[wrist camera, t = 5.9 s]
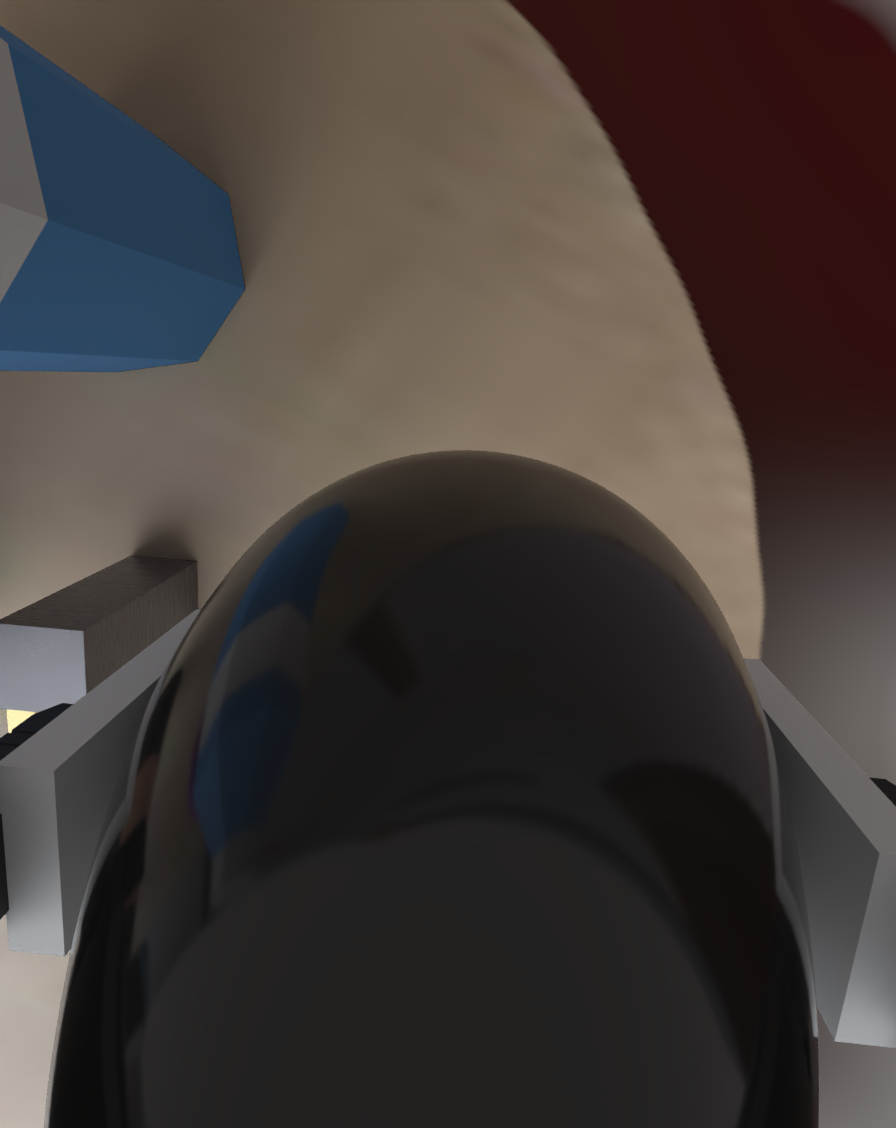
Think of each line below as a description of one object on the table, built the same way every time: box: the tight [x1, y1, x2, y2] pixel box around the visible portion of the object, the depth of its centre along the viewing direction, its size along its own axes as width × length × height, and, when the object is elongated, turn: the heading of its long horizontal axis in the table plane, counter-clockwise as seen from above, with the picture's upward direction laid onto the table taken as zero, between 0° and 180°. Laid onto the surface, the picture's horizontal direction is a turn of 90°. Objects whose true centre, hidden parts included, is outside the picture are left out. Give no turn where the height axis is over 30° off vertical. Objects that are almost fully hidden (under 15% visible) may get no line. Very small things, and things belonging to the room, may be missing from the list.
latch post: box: [0, 556, 198, 733], centre depth 30 cm, size 4×5×10 cm, turn 176°
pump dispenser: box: [44, 450, 819, 1128], centre depth 11 cm, size 10×10×15 cm
